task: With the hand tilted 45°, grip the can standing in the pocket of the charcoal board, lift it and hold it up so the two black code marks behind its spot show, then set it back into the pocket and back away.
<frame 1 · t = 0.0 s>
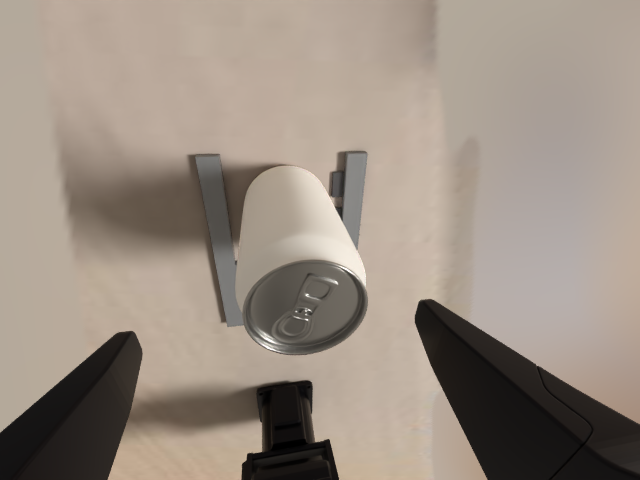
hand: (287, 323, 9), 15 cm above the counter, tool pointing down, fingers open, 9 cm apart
code board: (288, 247, 25), on the counter
can: (286, 203, 23), on the counter
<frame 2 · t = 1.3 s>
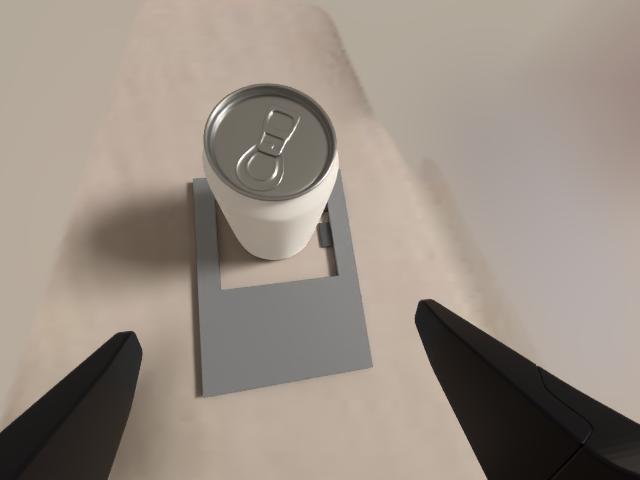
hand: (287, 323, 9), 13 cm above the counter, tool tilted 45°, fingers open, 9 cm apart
code board: (279, 270, 23), on the counter
can: (274, 223, 24), on the counter
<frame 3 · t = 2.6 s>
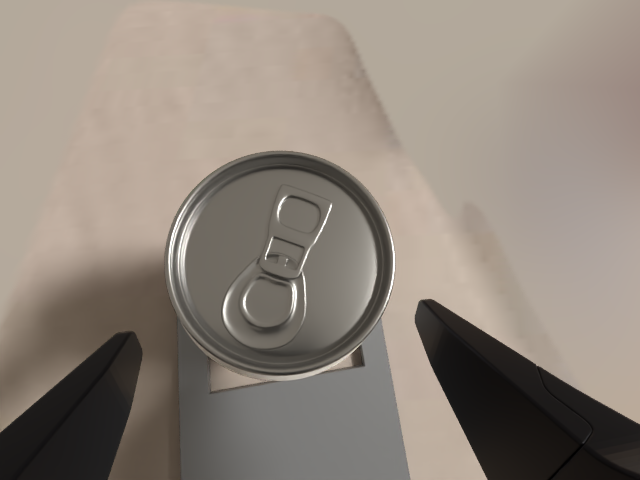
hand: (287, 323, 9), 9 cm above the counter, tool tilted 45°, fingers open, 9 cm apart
code board: (287, 360, 18), on the counter
can: (280, 293, 19), on the counter
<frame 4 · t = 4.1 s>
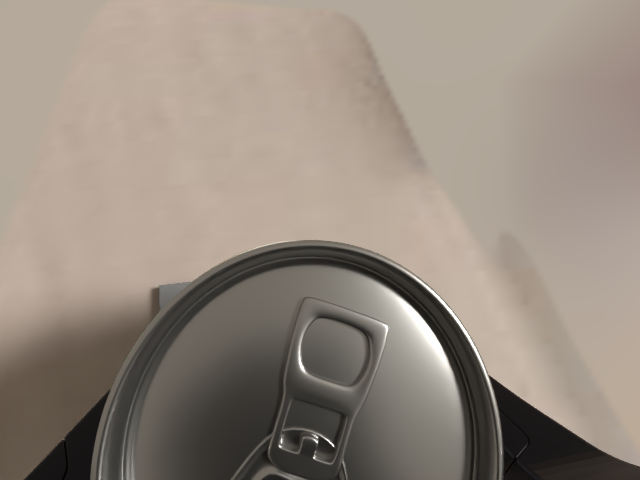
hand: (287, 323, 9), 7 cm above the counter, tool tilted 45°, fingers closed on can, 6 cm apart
code board: (295, 433, 15), on the counter
can: (286, 348, 16), on the counter, touching gripper
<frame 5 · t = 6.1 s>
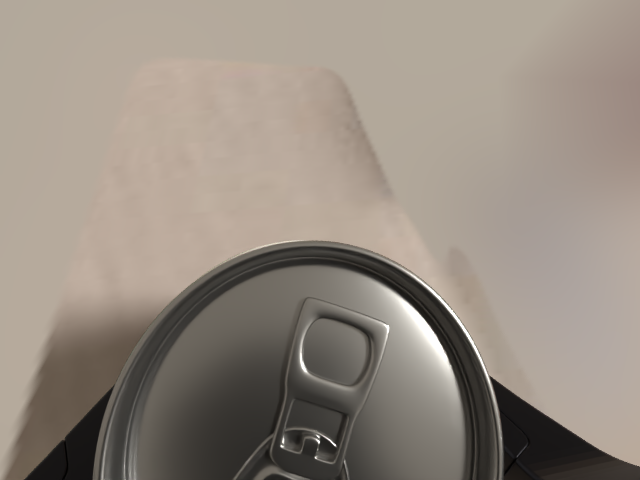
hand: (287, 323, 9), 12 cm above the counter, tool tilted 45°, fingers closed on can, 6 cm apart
can: (286, 347, 16), point 5 cm above the counter, touching gripper
when the fingers open (8 cm above the counter, at t = 8.2 s): can drops 1 cm, on the counter.
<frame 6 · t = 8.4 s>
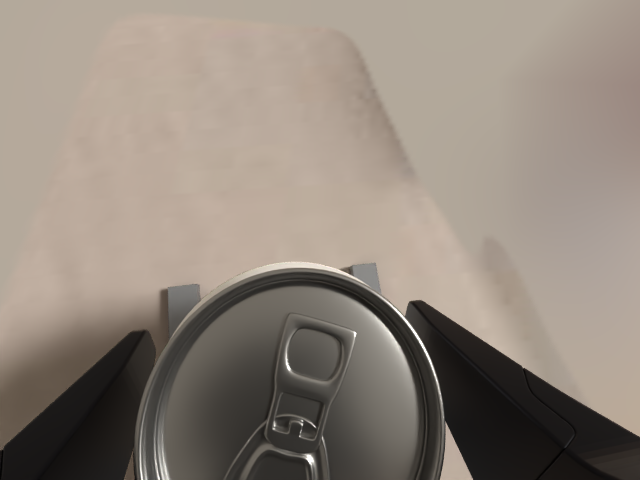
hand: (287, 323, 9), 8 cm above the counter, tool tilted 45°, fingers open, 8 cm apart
code board: (293, 422, 16), on the counter
can: (284, 347, 17), on the counter
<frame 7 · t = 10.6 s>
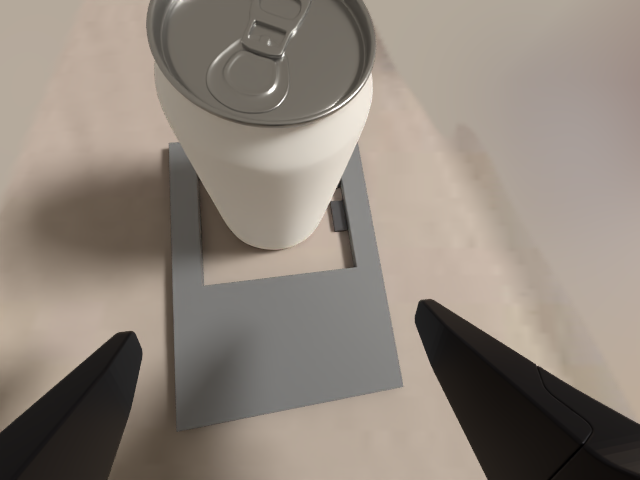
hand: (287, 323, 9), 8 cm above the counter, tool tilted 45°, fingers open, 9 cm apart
code board: (280, 261, 18), on the counter
can: (273, 203, 19), on the counter
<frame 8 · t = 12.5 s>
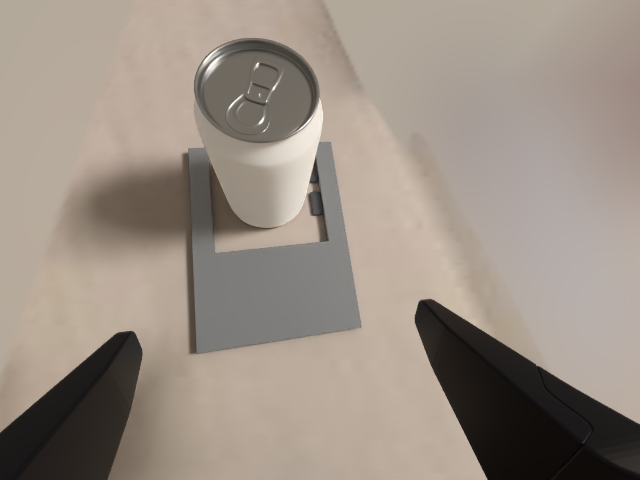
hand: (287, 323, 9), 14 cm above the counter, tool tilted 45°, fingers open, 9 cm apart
code board: (272, 236, 24), on the counter
can: (267, 194, 25), on the counter
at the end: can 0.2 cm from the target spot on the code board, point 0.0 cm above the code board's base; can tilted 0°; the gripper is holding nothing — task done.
